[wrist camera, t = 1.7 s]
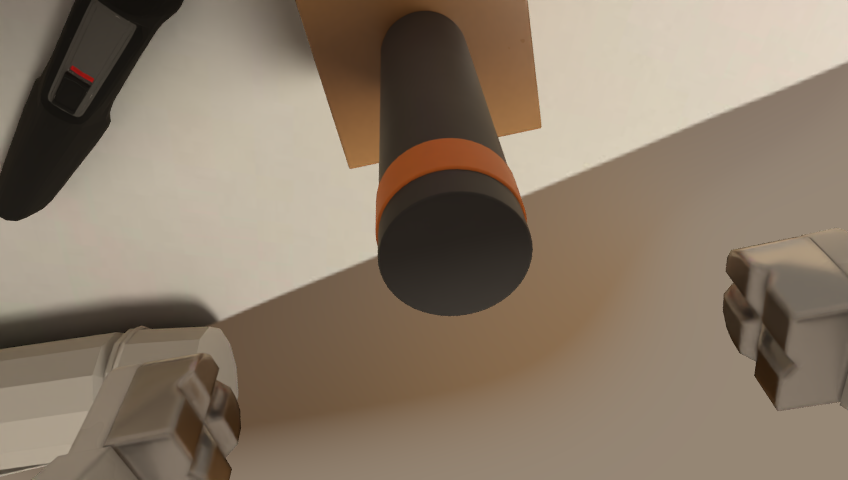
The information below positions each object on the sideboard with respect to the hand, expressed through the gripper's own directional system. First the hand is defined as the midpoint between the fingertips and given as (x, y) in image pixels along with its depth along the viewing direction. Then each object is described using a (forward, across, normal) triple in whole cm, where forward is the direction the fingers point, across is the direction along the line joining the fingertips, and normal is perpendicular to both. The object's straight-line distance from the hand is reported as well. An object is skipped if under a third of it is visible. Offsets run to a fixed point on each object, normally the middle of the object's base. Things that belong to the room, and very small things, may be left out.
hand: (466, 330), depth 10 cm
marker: (+13, 0, 0) cm, 13 cm away
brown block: (+23, 0, 0) cm, 23 cm away
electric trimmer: (+23, +16, +1) cm, 28 cm away
